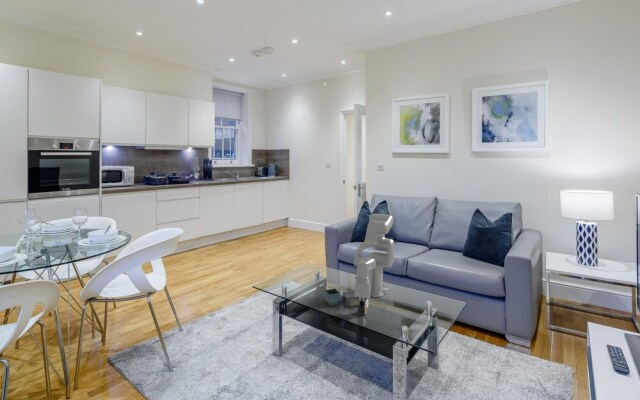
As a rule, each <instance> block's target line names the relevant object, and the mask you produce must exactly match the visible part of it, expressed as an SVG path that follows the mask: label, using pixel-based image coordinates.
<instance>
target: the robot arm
mask: <svg viewBox="0 0 640 400" xmlns="http://www.w3.org/2000/svg"><path fill="white" fill-rule="evenodd" d="M368 221H369V222H368V223H367V228H366V233H365V239H364V241H363V242H362V243H361V244H360V245H359V246H358V247H357V248H356V251H355V255H354V260H353V264H354V267H356V269H357V271H356V276H355V277H354V279H355V283H354V288H353V289H354V290H353V291H354V297H356V298H358V299H359V301H360V306H359V307H360V308H364V307H365V306H364V305H365V300H367V299H369V300H371V297H373V298H380V297H384V295H385V292H389V288H388V287H387V288H386V287H383V282H384V281H383V277H384V276H383V275H384V271H383V268H385V267H386V268H391V267H393V264H394V257H395V256H394V255H395V242H394V240H393V238H387V237H385V235H387V234H388V233H389V232H390V230H391V228H392V226H393V225H394V217H393V216H392V215H391V214H381V213H371V214H369V216H368ZM369 248H372V249H373V250H374V251H372V252H370V253H369V254H368V257H367V256H361V254H362V252H363V251H364V250H366V249H369ZM377 251H379V252H377ZM382 267H383V268H382ZM362 298H363V300H362Z"/></svg>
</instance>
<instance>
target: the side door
mask: <svg viewBox="0 0 640 400" xmlns="http://www.w3.org/2000/svg"><path fill="white" fill-rule="evenodd" d="M369 301H370V299H367V300H366V303H365V306H364V315H367V313H368V311H369V304H370V303H369Z"/></svg>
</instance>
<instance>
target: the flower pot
mask: <svg viewBox="0 0 640 400" xmlns="http://www.w3.org/2000/svg"><path fill="white" fill-rule="evenodd" d="M323 293H324V294H323V295H324V299H325V301H326V302H327V304H328V305H329V306H330V307H331V306H336V305H338V304H339V302H340V299H341V292H340V291H339V290H338V289H337V288H330V289H325V290H324V291H323Z"/></svg>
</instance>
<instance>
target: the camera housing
mask: <svg viewBox="0 0 640 400" xmlns="http://www.w3.org/2000/svg"><path fill="white" fill-rule="evenodd" d="M362 300H363V298H362ZM341 303H342V304H343V305H344V306H345V308H353V307H354V308H355V307H356V308H357V307H360V301H359V299H358V298H356V297H354V290H351V291H343V292H342V297H341ZM365 303H366V300H365ZM363 307H365V305H364V306H363Z"/></svg>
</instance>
